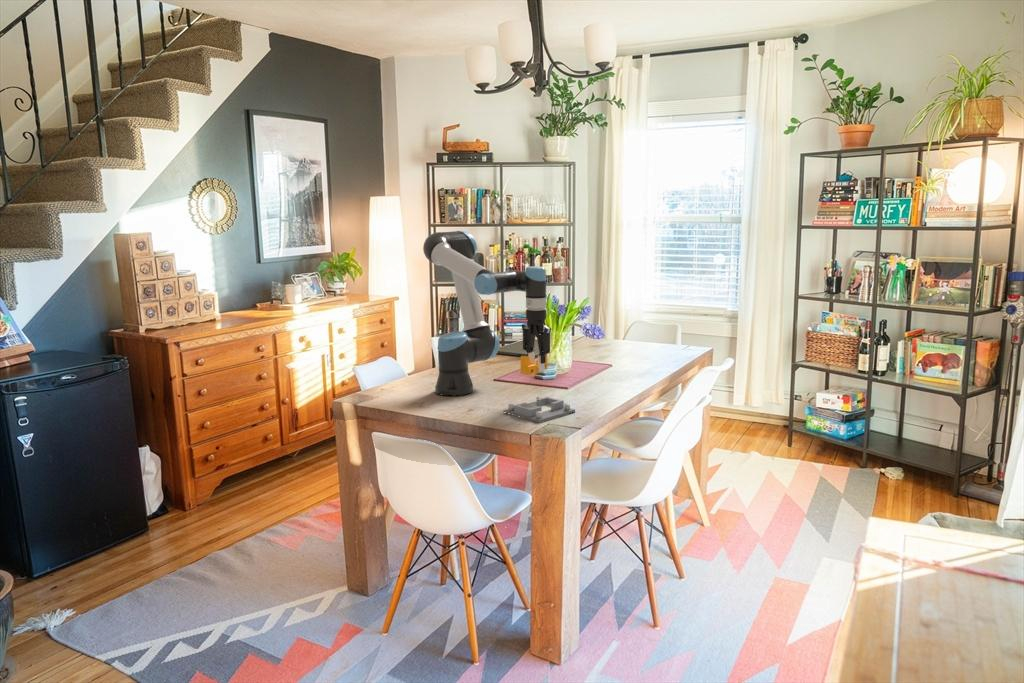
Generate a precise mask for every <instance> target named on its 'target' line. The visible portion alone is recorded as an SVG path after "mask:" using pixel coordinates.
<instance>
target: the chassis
mask: <svg viewBox="0 0 1024 683" xmlns="http://www.w3.org/2000/svg"><path fill="white" fill-rule="evenodd" d="M507 407H508V408H507V409H504V410H503V411H502V412H506V413H510V414H513V415H516V416H520V417H523V418H525V419H524V420H526V419H529V420H528V421H530V420H532V421H531V422H534V421H535V422H534V423H537V422H538V424H540V422H541V423H543V421H544V422H547V420H548V421H550V419H551V420H554V419H557V418H556V417H558V418H560V416H561V417H564V416H567V415H566V414H568V415H570V414H569V413H571V414H573V413H572V412H574V413H576V409H574V408H571V404H570V403H569V402H568V403H565V402H564V400H563V399H559V398H554V397H550V396H544V397H543V396H536V401H532V402H530V403H529V402H522V403H518V404H514V403H510V404H509V403H508V405H507ZM563 415H564V416H563ZM516 416H515V417H516ZM523 418H522V419H523ZM553 418H554V419H553Z"/></svg>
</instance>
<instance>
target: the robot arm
mask: <svg viewBox="0 0 1024 683" xmlns="http://www.w3.org/2000/svg"><path fill="white" fill-rule="evenodd" d="M422 251H423V253H424V256H425V258H426V259H427V260H428V261H430V263H432V264H433V265H435V266H440V267H441V266H442V267H444V268H446V269H448V270H449V271H451V275H452V280H453V284H454V287H455V292H456V296H457V300H458V305H459V308H460V309H459V310H460V313H461V318H462V322H463V326H464V327H463V328H462V330H461V331H452V332H447V333H443V334H442V335H440V336H439V337H438V339H437V354H438V355H437V356H438V376H437V379H436V384H435V387H434V388H435V389H434V391H435V392H436V393H438V394H442V395H452V396H451V397H457V396H456V395H461V396H466V395H465V394H467V395H469V393H470V394H472V393H473V392H474V385H473V384H474V383H473V382H472V378H471V376H470V372H469V364H470V363H471V364H473V363H477V362H482V361H483V362H484V361H487V360H490V359H493V358H494V357H496V355H497V354H498V352H499V351H500V350H499V348H500V338H499V336H498V334H497V333H496V331H494V330H493V329H491V326H490V324H489V323H487V322H486V321H485V317H484V312H483V309H482V305H481V300H480V295H482V296H483V295H485V296H490V295H494V294H501V293H510V292H525V308H526V310H525V320H527V321H526V323H522V324H521V329H522V350H523V351H525V352H526V353H527V354H526V356H528V357H529V359H530V362H531V364H534V363H535V362H536V360H535V359H536V357H535V356H536V352H535V350H534V348H535V341H537V344H538V345H537V346H538V354H537V359H538V372H539V373H540V372H541V373H543V372H545V371H546V370H545V362H546V354H548V355H549V354H550V353H551V331H552V327H548V326H547V324H546V319H547V310H546V309H547V279H548V278H547V270H546V268H545V267H544V266H538V265H537V266H535V265H534V266H532V265H531V266H527V267H525V270H524V271H523V270H517V269H507V270H505V271H500V272H493V271H491V270H489V269H488V268H486V267H484V266H483V265H480V264H479V263H477V262H475V259H474V258H475V257H476V256H477V253H478V252H477V251H478V244H477V241H476V238H475V237H474V236H473V235H472V234H471V233H470V232H468V231H461V230H456V231H439V232H434V233H431V234H429V235H428V236H427V238H425V240H424V243H423V247H422ZM539 353H540V354H539ZM539 373H538V374H539ZM435 392H434V393H435ZM471 392H472V393H471ZM436 393H435V394H436ZM438 394H437V395H438ZM442 395H441V396H442Z"/></svg>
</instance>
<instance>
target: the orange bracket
mask: <svg viewBox="0 0 1024 683" xmlns="http://www.w3.org/2000/svg"><path fill="white" fill-rule="evenodd" d="M538 354H540V353H539V352H538ZM548 356H549V353H548V354H546V362H545V371H546V370H548V369H549V368H548ZM540 373H542V372H540ZM520 374H522V375H525V376H532V375H536V374H539V372H538V358H537V359H536V360H535V363H534V364H531V362H530V359H529V357H528V356H527V355H521V356H520Z"/></svg>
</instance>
